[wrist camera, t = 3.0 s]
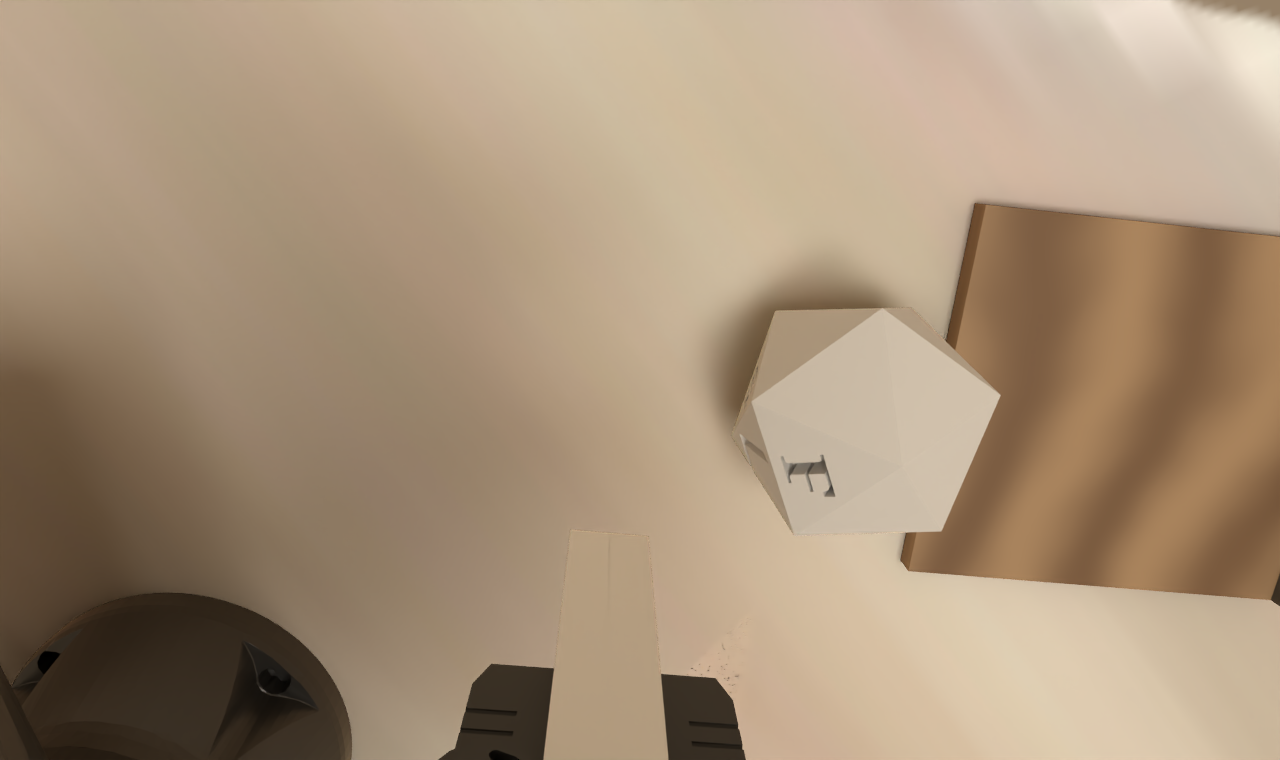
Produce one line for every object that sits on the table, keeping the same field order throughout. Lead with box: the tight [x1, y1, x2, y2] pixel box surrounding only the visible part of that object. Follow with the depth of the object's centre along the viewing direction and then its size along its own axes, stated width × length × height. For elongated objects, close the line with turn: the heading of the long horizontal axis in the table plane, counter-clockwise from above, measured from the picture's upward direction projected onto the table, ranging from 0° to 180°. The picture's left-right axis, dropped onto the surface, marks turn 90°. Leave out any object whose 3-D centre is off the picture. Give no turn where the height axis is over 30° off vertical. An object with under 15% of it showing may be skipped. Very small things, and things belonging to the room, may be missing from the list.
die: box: [731, 308, 1001, 536], centre depth 30 cm, size 8×9×10 cm
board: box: [901, 203, 1280, 606], centre depth 35 cm, size 18×16×2 cm
